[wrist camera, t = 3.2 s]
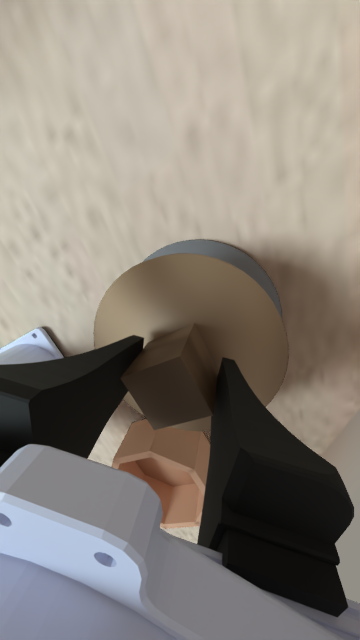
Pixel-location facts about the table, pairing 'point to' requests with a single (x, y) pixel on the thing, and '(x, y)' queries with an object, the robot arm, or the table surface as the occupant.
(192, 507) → the bowl
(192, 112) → the table surface
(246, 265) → the mat
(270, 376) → the lid
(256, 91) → the table surface
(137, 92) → the table surface
